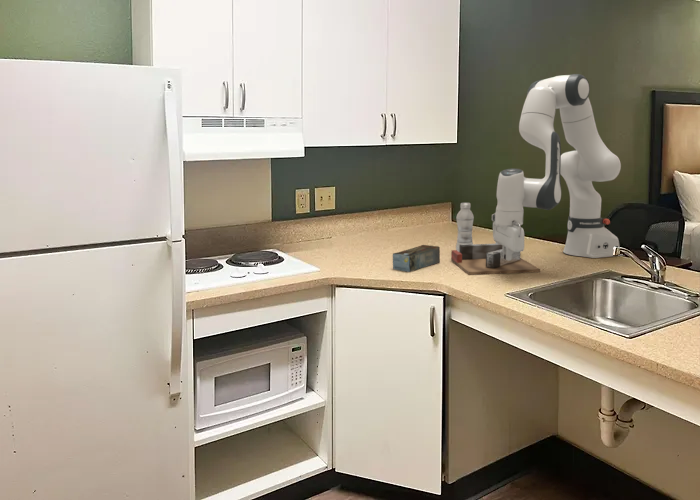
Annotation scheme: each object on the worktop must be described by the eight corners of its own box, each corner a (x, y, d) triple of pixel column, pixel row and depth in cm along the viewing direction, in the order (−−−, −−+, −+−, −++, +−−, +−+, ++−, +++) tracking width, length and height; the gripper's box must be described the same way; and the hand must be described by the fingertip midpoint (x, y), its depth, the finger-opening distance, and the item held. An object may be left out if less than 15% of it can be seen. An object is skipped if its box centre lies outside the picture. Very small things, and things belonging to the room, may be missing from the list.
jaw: (513, 258, 228) (513, 245, 227) (521, 260, 226) (521, 246, 225) (485, 267, 216) (486, 253, 215) (493, 268, 214) (494, 254, 213)
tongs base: (516, 258, 235) (517, 237, 233) (539, 271, 213) (541, 248, 212) (451, 260, 232) (451, 239, 230) (468, 274, 211) (469, 251, 209)
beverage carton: (391, 269, 221) (391, 251, 220) (423, 260, 235) (423, 243, 233) (409, 272, 216) (409, 254, 214) (441, 263, 230) (441, 245, 228)
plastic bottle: (473, 256, 239) (474, 204, 235) (455, 255, 240) (456, 204, 236) (473, 252, 245) (474, 202, 241) (455, 252, 246) (456, 201, 242)
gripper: (530, 223, 196) (528, 266, 199) (507, 214, 216) (506, 253, 219) (511, 223, 196) (509, 266, 198) (490, 214, 216) (488, 253, 218)
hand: (507, 259), depth 209 cm, fingers closed
